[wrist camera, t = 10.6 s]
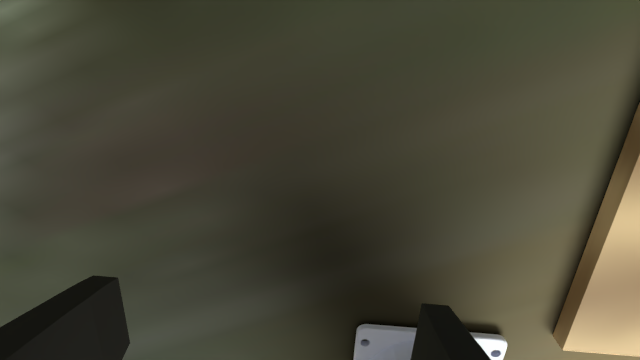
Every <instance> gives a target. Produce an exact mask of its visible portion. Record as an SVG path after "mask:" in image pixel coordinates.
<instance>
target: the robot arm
mask: <svg viewBox="0 0 640 360" xmlns="http://www.w3.org/2000/svg"><path fill="white" fill-rule="evenodd" d="M363 339H367V341H363ZM129 344H130V340H129V335H128V329H127V324H126V319H125V313H124V308H123V302H122V297H121V292H120V286H119V281H118V278H115V277H104V276H91V277H89V278H87V279H85V280H83V281H81V282H80V283H78V284H76V285H74V286H72V287H70V288H69V289H67V290H65V291H63V292H61V293H60V294H58V295H56V296H54V297H53V298H51V299H49V300H47V301H46V302H44V303H42V304H40V305H39V306H37V307H35V308H33V309H32V310H30V311H28V312H26V313H25V314H23V315H21V316H19V317H18V318H16V319H14V320H12V321H11V322H9V323H7V324H5V325H4V326H2V327H0V360H122V359H123V356H124V354H125V352H126V350H127V348H128V346H129ZM506 349H507V342H506V340H505V338H504V337H503V336H501V335H498V334H485V333H473V332H469V331H468V330H467V329H466V327H465V326H464V325H463V323H462V322H461V321H460V320H459V318H458V317H457V316H456V314H455V313H454V312H453V311H452V310H451V308H450V307H449V306H445V305H433V304H422V305H421V310H420V315H419V320H418V325H417V328H410V327H398V326H386V325H373V324H362V325H360V326H359V327H358V328H357V330H356V339H355V348H354V357H353V360H503V358H504V355H505V352H506ZM494 350H496V351H494Z"/></svg>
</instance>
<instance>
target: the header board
mask: <svg viewBox="0 0 640 360" xmlns="http://www.w3.org/2000/svg"><path fill="white" fill-rule="evenodd" d="M553 337H554V338H555V340H556V341H557V343H558V344H559V346H560V347H561V349H562V350H565V351H577V352H589V353H602V354H614V355H626V356H639V357H640V103H639V105H638V108H637V111H636V113H635V116H634V119H633V121H632V124H631V127H630V129H629V132H628V135H627V137H626V140H625V143H624V146H623V148H622V151H621V154H620V156H619V159H618V162H617V164H616V167H615V170H614V172H613V175H612V178H611V180H610V183H609V186H608V188H607V191H606V194H605V196H604V199H603V202H602V205H601V207H600V210H599V213H598V215H597V218H596V221H595V223H594V226H593V229H592V231H591V234H590V237H589V239H588V242H587V245H586V247H585V250H584V253H583V255H582V258H581V261H580V264H579V266H578V269H577V272H576V274H575V277H574V280H573V282H572V285H571V288H570V290H569V293H568V296H567V298H566V301H565V304H564V306H563V309H562V312H561V314H560V317H559V320H558V323H557V325H556V328H555V331H554V333H553Z"/></svg>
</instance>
